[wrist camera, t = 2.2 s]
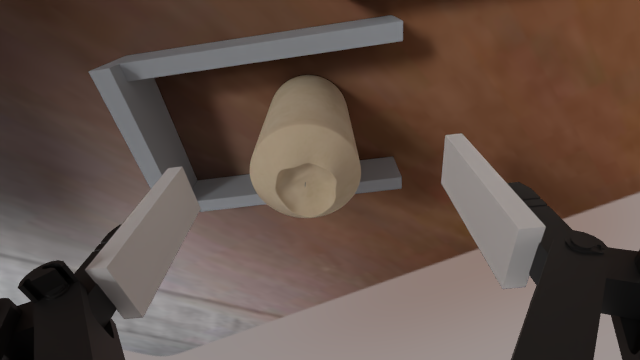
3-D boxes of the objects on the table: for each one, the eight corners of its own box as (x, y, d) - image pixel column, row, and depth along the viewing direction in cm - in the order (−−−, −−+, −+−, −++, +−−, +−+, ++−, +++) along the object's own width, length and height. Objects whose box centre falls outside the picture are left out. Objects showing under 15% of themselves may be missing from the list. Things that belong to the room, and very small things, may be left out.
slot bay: (187, 191, 26) (169, 223, 23) (126, 55, 20) (88, 71, 17) (393, 167, 25) (404, 196, 22) (391, 14, 19) (407, 23, 16)
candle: (255, 102, 22) (217, 179, 14) (319, 57, 20) (321, 113, 12) (300, 158, 25) (292, 252, 16) (361, 122, 23) (386, 205, 15)
